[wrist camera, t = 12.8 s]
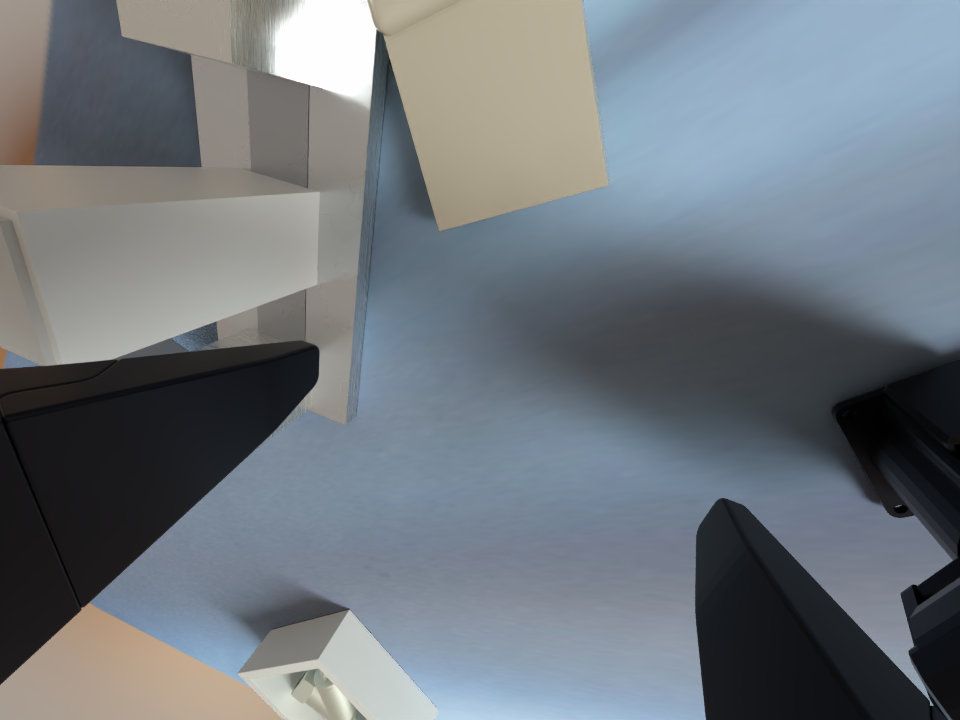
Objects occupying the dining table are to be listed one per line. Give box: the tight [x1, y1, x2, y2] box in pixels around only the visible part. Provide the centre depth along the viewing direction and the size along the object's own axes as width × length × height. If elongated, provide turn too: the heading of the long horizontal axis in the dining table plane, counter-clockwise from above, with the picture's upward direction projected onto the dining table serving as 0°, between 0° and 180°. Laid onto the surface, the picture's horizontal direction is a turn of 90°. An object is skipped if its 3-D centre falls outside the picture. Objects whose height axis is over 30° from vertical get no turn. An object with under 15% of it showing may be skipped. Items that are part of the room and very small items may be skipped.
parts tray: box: [237, 610, 438, 720], centre depth 41 cm, size 14×14×4 cm
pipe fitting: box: [291, 669, 367, 720], centre depth 42 cm, size 8×4×7 cm
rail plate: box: [116, 0, 389, 449], centre depth 21 cm, size 10×23×6 cm, turn 166°
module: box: [0, 165, 320, 366], centre depth 17 cm, size 5×5×12 cm
